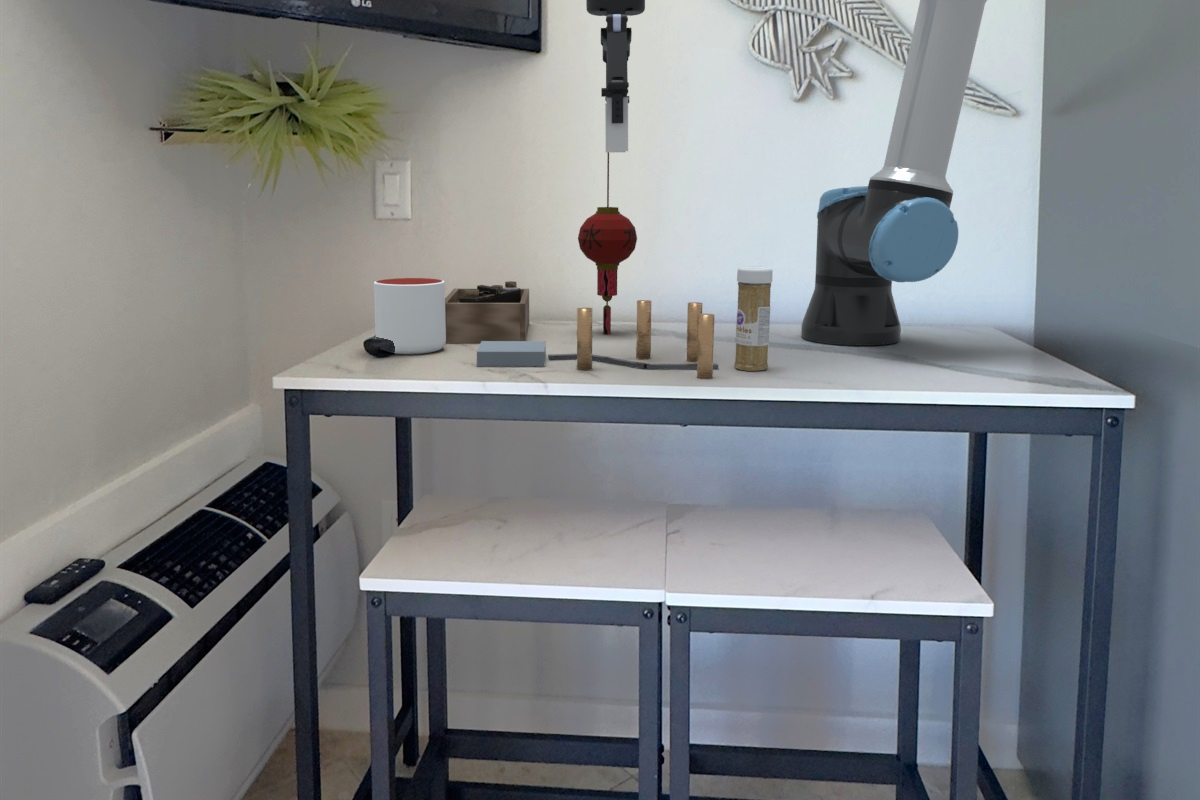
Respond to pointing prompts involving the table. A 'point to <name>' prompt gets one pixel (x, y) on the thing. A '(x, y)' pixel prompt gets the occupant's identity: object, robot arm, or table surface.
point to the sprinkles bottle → (753, 318)
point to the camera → (493, 294)
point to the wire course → (697, 342)
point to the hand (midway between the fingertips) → (616, 152)
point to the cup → (411, 314)
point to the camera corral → (485, 319)
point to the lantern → (607, 249)
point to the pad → (511, 353)
